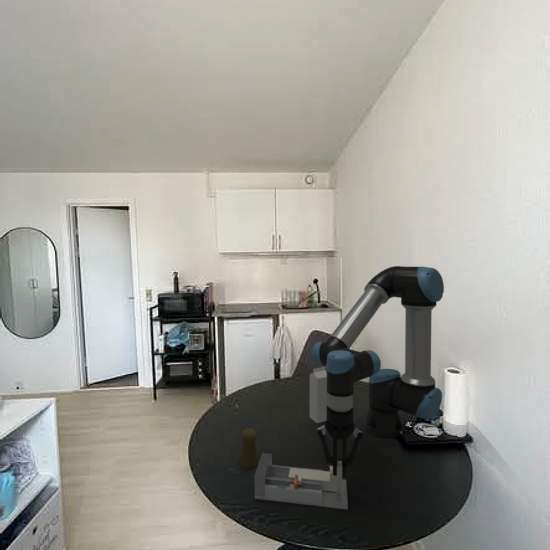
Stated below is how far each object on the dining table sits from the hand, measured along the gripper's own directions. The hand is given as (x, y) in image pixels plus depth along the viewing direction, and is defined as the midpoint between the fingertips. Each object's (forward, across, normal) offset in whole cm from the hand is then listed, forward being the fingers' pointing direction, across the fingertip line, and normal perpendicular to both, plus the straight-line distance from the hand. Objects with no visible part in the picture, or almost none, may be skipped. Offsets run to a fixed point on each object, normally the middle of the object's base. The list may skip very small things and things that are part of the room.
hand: (339, 485), depth 99 cm
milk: (+3, +7, -45) cm, 45 cm away
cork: (+3, +29, -11) cm, 31 cm away
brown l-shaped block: (+2, +13, +4) cm, 14 cm away
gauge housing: (+3, +11, 0) cm, 11 cm away
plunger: (+2, +8, 0) cm, 8 cm away
